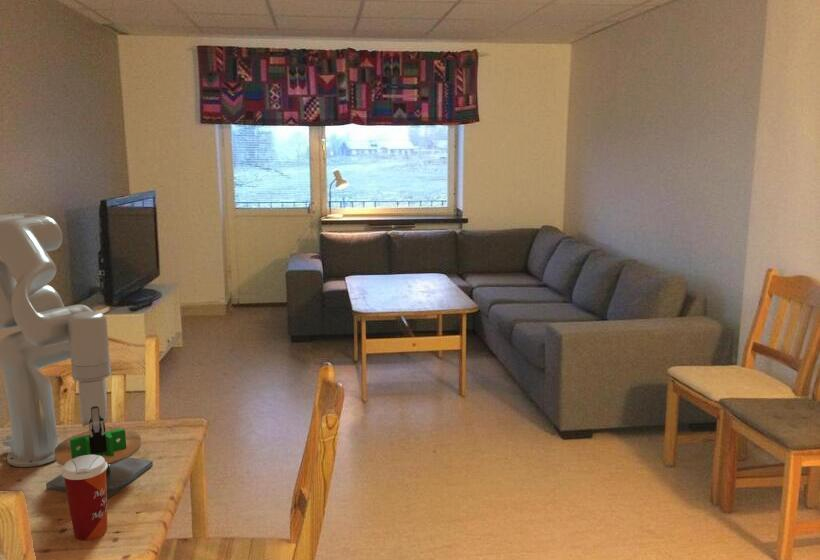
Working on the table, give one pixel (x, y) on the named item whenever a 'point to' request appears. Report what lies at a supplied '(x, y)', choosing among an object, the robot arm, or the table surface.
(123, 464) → the bronze disc on slab
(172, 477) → the table surface
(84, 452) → the pipe clamp
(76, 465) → the coffee cup
